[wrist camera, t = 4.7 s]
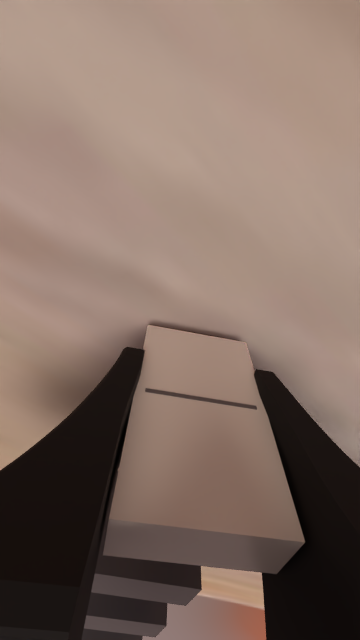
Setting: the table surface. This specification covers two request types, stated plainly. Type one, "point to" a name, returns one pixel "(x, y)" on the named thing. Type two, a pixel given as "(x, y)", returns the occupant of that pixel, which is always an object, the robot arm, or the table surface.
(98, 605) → the tile
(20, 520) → the robot arm
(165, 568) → the tile
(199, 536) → the ivory tile
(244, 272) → the table surface
